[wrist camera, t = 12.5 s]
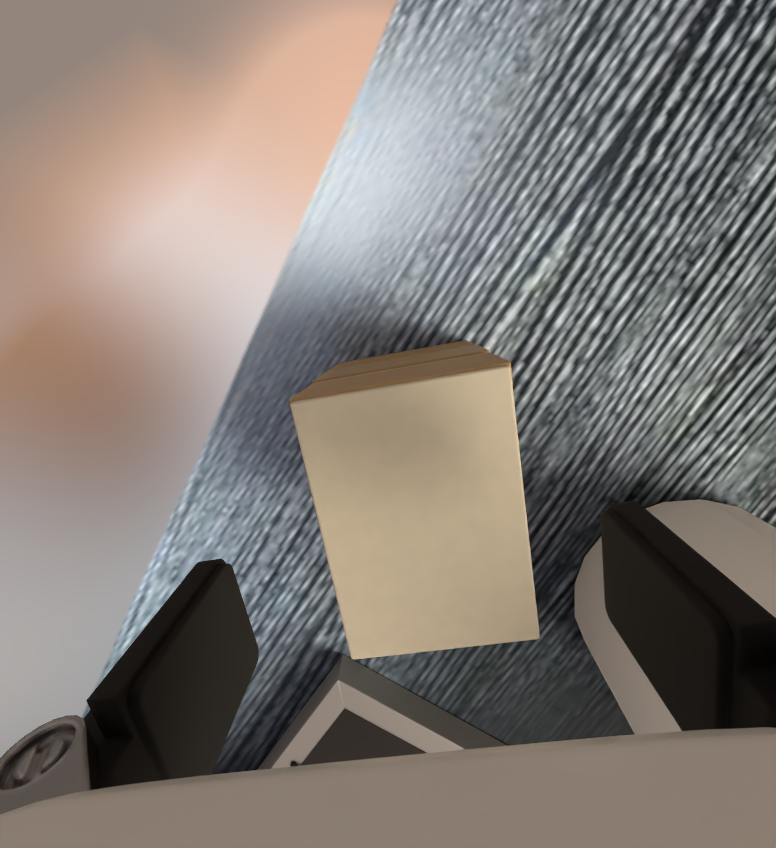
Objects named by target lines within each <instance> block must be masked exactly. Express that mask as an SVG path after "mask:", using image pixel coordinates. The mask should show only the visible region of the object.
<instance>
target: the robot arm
mask: <svg viewBox="0 0 776 848" xmlns="http://www.w3.org/2000/svg"><path fill="white" fill-rule="evenodd" d="M600 519H601V539H602V558H603V578H604V598H605V608H606V612H607V615H608V617H609V619H610V621H611V623H612V624H613V626H614V627H615V629H616V631H617V632H618V634H619V635H620V637H621V638H622V640H623V641H624V643H625V644H626V646H627V647H628V649H629V650H630V652H631V654H632V655H633V657H634V658H635V660H636V661H637V663H638V664H639V666H640V667H641V669H642V670H643V672H644V673H645V675H646V676H647V678H648V680H649V681H650V683H651V684H652V686H653V687H654V689H655V690H656V692H657V693H658V695H659V696H660V698H661V699H662V701H663V703H664V704H665V706H666V707H667V709H668V710H669V712H670V713H671V715H672V716H673V718H674V719H675V721H676V722H677V724H678V725H679V727H680V729H681V730H682V731H677V732H664V733H651V734H637V735H623V736H611V737H600V738H589V739H577V740H566V741H555V742H544V743H533V744H522V745H510V746H499V747H488V748H477V749H466V750H456V751H445V752H435V753H424V754H414V755H403V756H393V757H383V758H372V759H362V760H352V761H342V762H331V763H321V764H311V765H301V766H292V767H282V768H272V769H263V770H253V771H243V772H233V773H224V774H214V775H211V774H212V771H213V769H214V766H215V764H216V762H217V759H218V757H219V754H220V752H221V749H222V747H223V745H224V742H225V740H226V737H227V735H228V732H229V730H230V728H231V725H232V723H233V720H234V718H235V715H236V713H237V711H238V708H239V706H240V703H241V701H242V698H243V696H244V694H245V691H246V689H247V686H248V684H249V681H250V679H251V677H252V674H253V672H254V669H255V667H256V664H257V661H258V646H257V642H256V639H255V636H254V633H253V630H252V627H251V624H250V621H249V618H248V614H247V611H246V608H245V605H244V602H243V599H242V596H241V593H240V589H239V586H238V583H237V580H236V577H235V574H234V571H233V568H232V566H231V565H230V564H226V563H225V561H224V560H222V559H216V560H209V561H202V562H198V563H197V564H196V565H195V566H194V568H193V569H192V570H191V571H190V572H189V574H188V575H187V576H186V577H185V579H184V580H183V581H182V582H181V584H180V585H179V586H178V587H177V589H176V590H175V591H174V592H173V594H172V595H171V596H170V597H169V599H168V600H167V601H166V602H165V604H164V605H163V606H162V607H161V609H160V610H159V611H158V612H157V614H156V615H155V616H154V617H153V618H152V620H151V621H150V622H149V623H148V625H147V626H146V627H145V628H144V630H143V631H142V632H141V633H140V635H139V636H138V637H137V638H136V640H135V641H134V642H133V643H132V645H131V646H130V647H129V648H128V650H127V651H126V652H125V653H124V655H123V656H122V657H121V658H120V660H119V661H118V662H117V663H116V664H115V666H114V667H113V668H112V669H111V671H110V672H109V673H108V674H107V676H106V677H105V678H104V679H103V681H102V682H101V683H100V684H99V686H98V687H97V688H96V689H95V691H94V692H93V693H92V694H91V696H90V697H89V698H88V699H87V703H88V705H89V707H90V709H91V710H90V711H89V713H88V714H87V715H86V716H85V718H84V719H83V718H81V717H79V716H76V715H75V716H64V717H61V718H57V719H54V720H52V721H50V722H48V723H45V724H43V725H42V726H39V727H38V728H36V729H35V730H33V731H32V732H30V733H29V734H27V735H26V736H24V737H23V738H22V739H20V740H19V741H18V742H17V743H16V744H14V745H13V746H12V747H11V748H10V749H9V750H8V751H7V752H6V753H5V754H4V755H3V756H2V757H1V758H0V848H776V618H775V617H774V616H773V615H772V614H770V613H769V612H768V611H767V610H766V609H764V608H763V607H762V606H761V605H760V604H759V603H757V602H756V601H755V600H754V599H753V598H751V597H750V596H749V595H748V594H747V593H745V592H744V591H743V590H742V589H741V588H739V587H738V586H737V585H736V584H735V583H734V582H732V581H731V580H730V579H729V578H728V577H726V576H725V575H724V574H723V573H722V572H720V571H719V570H718V569H717V568H716V567H715V566H713V565H712V564H711V563H710V562H709V561H707V560H706V559H705V558H704V557H703V556H701V555H700V554H699V553H698V552H696V551H695V550H694V549H693V548H692V547H690V546H689V545H688V544H687V543H686V542H684V541H683V540H682V539H681V538H680V537H679V536H677V535H676V534H675V533H674V532H673V531H671V530H670V529H669V528H668V527H667V526H665V525H664V524H663V523H662V522H661V521H660V520H658V519H657V518H656V517H655V516H654V515H652V514H651V513H650V512H649V511H648V510H646V509H645V508H644V507H643V506H642V505H641V504H639V503H638V502H637V501H626V502H619V503H612V504H609V505H608V507H607V510H606V511H602V512H601V517H600Z"/></svg>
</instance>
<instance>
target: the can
mask: <svg viewBox="0 0 776 848" xmlns="http://www.w3.org/2000/svg"><path fill="white" fill-rule="evenodd" d="M645 509H646V510H648V511H649V512H650V513H651V514H652V515H654V516H655V517H656V518H657V519H658V520H660V521H661V522H662V523H663V524H664V525H665V526H667V527H668V528H669V529H670V530H671V531H673V532H674V533H675V534H676V535H677V536H679V537H680V538H681V539H682V540H683V541H684V542H686V543H687V544H688V545H689V546H690V547H692V548H693V549H694V550H695V551H696V552H698V553H699V554H700V555H701V556H703V557H704V558H705V559H706V560H707V561H709V562H710V563H711V564H712V565H713V566H715V567H716V568H717V569H718V570H719V571H720V572H722V573H723V574H724V575H725V576H726V577H728V578H729V579H730V580H731V581H732V582H734V583H735V584H736V585H737V586H738V587H739V588H741V589H742V590H743V591H744V592H745V593H747V594H748V595H749V596H750V597H751V598H753V599H754V600H755V601H756V602H757V603H759V604H760V605H761V606H762V607H763V608H764V609H766V610H767V611H768V612H769V613H770V614H772V615H773V616H774V617H775V618H776V528H775V527H773V526H771V525H769V524H768V523H766V522H764V521H762V520H761V519H759V518H757V517H756V516H754V515H752V514H750V513H749V512H747V511H745V510H744V509H742V508H740V507H736V506H731V505H727V504H722V503H717V502H713V501H708V500H685V501H672V502H662V503H659V504H657V505H654V506H651V507H648V508H645ZM575 619H576V621H577V624H578V626H579V629H580V631H581V634H582V636H583V639H584V641H585V643H586V645H587V647H588V648H589V650H590V652H591V654H592V656H593V658H594V660H595V661H596V663H597V665H598V667H599V669H600V671H601V673H602V674H603V676H604V678H605V680H606V682H607V684H608V686H609V687H610V689H611V691H612V693H613V695H614V697H615V699H616V700H617V702H618V704H619V706H620V708H621V710H622V712H623V713H624V715H625V717H626V719H627V721H628V723H629V725H630V726H631V728H632V730H633V732H634V734H635V735H637V734H651V733H664V732H677V731H682V730H681V729H680V727H679V725H678V724H677V722H676V721H675V719H674V718H673V716H672V715H671V713H670V712H669V710H668V709H667V707H666V706H665V704H664V703H663V701H662V699H661V698H660V696H659V695H658V693H657V692H656V690H655V689H654V687H653V686H652V684H651V683H650V681H649V680H648V678H647V676H646V675H645V673H644V672H643V670H642V669H641V667H640V666H639V664H638V663H637V661H636V660H635V658H634V657H633V655H632V654H631V652H630V650H629V649H628V647H627V646H626V644H625V643H624V641H623V640H622V638H621V637H620V635H619V634H618V632H617V631H616V629H615V627H614V626H613V624H612V623H611V621H610V619H609V617H608V615H607V612H606V608H605V598H604V578H603V558H602V539H601V537H600V538H599V539H598V541H597V542H596V543H595V544H594V545H593V547H592V548H591V549H590V550H589V552H588V553H587V554H586V555H585V557H584V560H583V563H582V565H581V568H580V570H579V573H578V576H577V578H576V581H575Z"/></svg>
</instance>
